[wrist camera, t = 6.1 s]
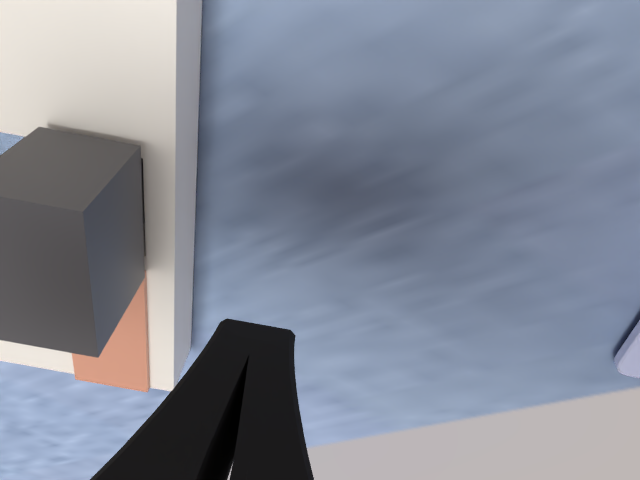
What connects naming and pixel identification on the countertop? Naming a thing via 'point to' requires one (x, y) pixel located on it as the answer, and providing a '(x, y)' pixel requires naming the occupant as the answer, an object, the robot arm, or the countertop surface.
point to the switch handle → (69, 239)
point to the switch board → (124, 126)
